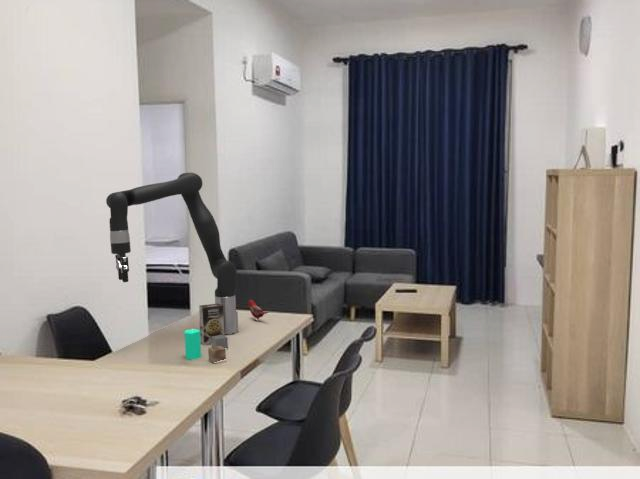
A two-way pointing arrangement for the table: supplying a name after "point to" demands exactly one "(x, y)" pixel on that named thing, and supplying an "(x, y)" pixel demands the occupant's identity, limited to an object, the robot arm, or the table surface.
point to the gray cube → (219, 341)
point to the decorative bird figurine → (255, 310)
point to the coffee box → (211, 322)
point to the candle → (192, 344)
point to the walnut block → (216, 353)
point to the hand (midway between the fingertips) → (123, 280)
